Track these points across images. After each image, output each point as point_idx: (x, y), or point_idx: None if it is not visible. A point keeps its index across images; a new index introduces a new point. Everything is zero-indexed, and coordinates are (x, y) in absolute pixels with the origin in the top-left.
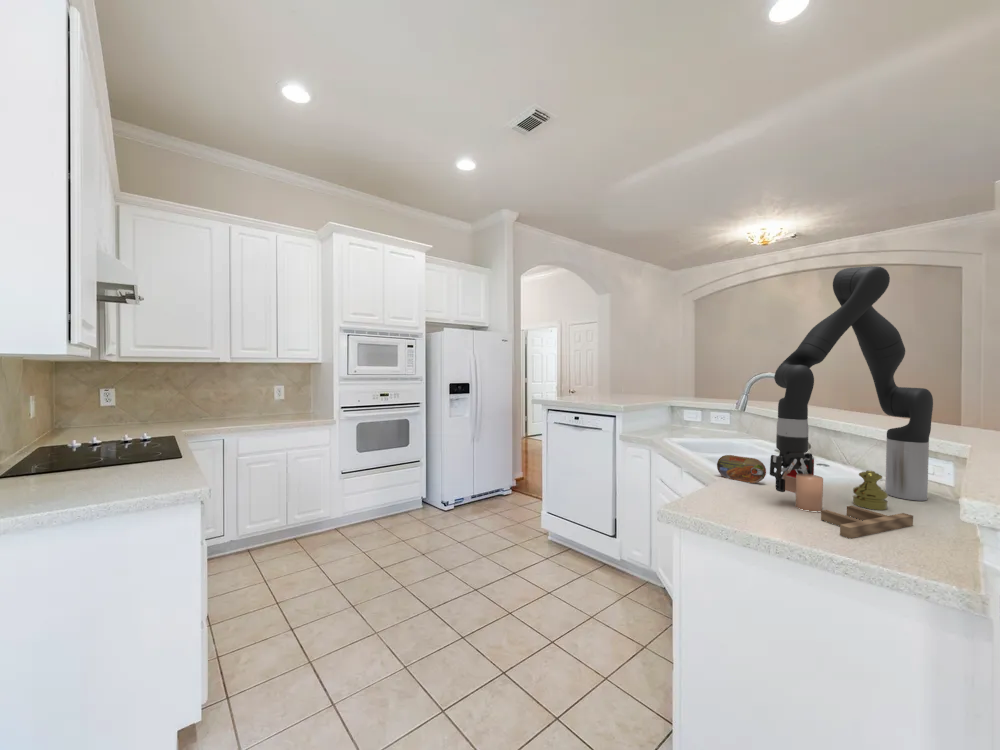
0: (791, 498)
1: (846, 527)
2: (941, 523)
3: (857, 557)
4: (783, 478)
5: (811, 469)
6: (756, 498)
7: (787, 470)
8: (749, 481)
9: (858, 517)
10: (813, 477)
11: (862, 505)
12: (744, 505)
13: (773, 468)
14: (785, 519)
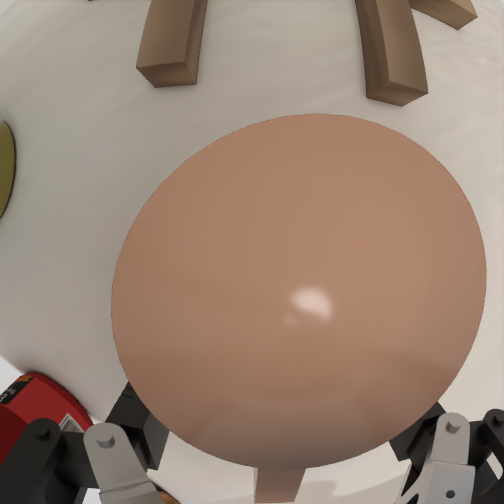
0: None
1: (471, 4)
2: (17, 12)
3: (499, 6)
4: (449, 418)
5: (28, 446)
6: None
7: (472, 467)
8: (170, 500)
9: (199, 34)
10: (345, 272)
11: (10, 160)
12: (466, 359)
13: (481, 488)
14: (497, 194)
